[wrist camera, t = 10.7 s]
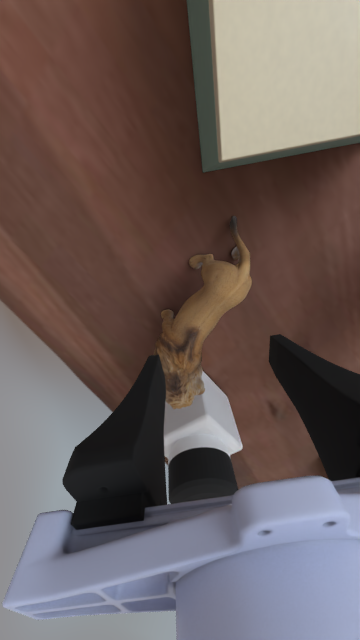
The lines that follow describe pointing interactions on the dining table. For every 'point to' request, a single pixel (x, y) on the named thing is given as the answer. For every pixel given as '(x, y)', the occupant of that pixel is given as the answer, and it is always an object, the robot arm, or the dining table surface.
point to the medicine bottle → (201, 446)
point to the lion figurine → (200, 321)
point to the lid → (284, 74)
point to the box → (206, 99)
